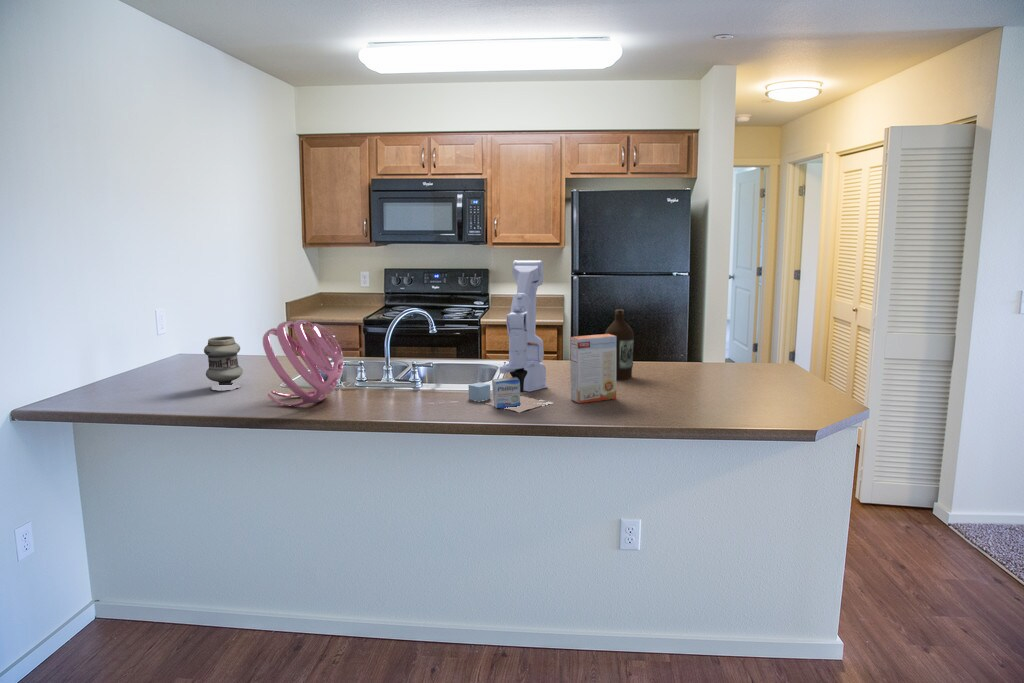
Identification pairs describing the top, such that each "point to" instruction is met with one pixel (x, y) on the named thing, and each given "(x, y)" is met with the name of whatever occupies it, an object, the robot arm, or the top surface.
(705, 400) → the top surface
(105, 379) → the top surface
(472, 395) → the blue cube
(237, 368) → the apothecary jar
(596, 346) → the cracker box
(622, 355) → the olive oil
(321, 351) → the spiral basket
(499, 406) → the medicine box
